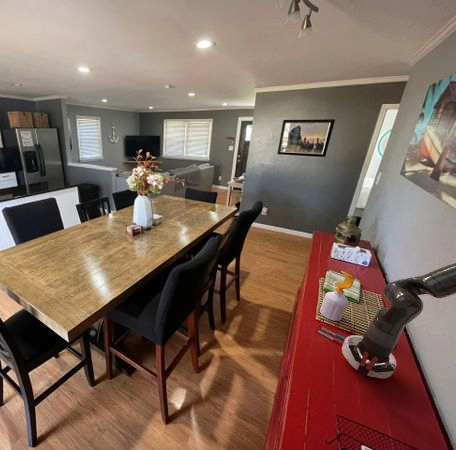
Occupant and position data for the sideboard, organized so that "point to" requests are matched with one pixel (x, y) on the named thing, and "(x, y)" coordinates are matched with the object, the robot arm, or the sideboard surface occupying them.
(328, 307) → the soap bottle
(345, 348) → the paper bowls
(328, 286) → the dish towel
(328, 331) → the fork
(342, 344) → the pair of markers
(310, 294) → the sideboard surface
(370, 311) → the sideboard surface
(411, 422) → the sideboard surface
